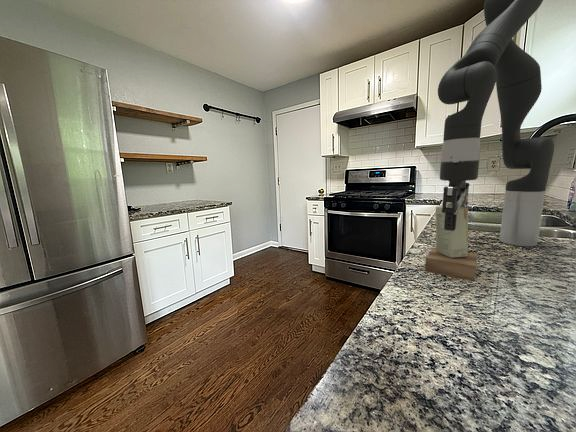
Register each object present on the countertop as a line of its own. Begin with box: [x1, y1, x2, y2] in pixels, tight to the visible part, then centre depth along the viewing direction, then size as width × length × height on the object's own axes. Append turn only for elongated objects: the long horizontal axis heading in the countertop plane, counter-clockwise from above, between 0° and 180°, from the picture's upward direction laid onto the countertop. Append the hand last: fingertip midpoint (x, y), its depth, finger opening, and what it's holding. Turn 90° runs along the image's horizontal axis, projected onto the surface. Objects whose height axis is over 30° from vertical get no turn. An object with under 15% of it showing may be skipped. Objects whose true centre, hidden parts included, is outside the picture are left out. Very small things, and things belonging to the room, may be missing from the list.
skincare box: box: [435, 205, 469, 258], centre depth 63 cm, size 6×4×12 cm
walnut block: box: [424, 247, 478, 282], centre depth 63 cm, size 10×10×4 cm
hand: (454, 226), depth 61 cm, fingers open, 8 cm apart
